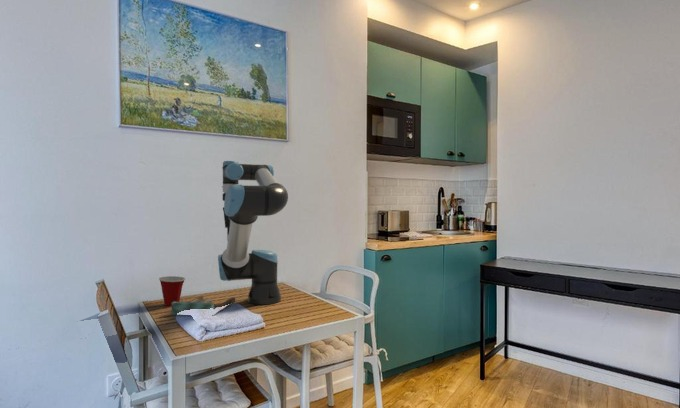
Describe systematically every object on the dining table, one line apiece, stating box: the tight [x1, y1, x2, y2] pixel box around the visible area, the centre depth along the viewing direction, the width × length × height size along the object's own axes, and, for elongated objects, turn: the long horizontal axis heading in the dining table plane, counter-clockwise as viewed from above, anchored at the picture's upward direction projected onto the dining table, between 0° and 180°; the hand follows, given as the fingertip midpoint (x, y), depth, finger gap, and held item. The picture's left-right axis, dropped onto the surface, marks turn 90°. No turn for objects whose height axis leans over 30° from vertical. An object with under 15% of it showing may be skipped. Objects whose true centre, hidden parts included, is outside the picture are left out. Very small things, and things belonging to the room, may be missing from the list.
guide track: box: [171, 295, 236, 316], centre depth 170 cm, size 17×24×5 cm
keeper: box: [190, 298, 213, 303], centre depth 165 cm, size 7×7×4 cm
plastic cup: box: [158, 275, 186, 307], centre depth 176 cm, size 11×11×12 cm
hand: (230, 241), depth 194 cm, fingers closed
